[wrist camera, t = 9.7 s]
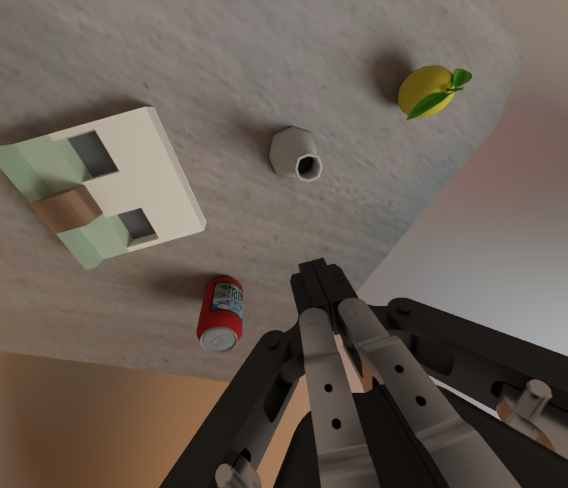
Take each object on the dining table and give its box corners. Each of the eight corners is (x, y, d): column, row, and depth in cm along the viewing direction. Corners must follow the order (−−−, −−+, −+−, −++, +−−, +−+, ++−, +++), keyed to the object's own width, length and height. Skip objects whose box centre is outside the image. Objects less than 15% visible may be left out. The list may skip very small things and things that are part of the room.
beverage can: (250, 288, 46) (251, 340, 36) (225, 307, 47) (219, 362, 37) (223, 267, 43) (217, 318, 32) (198, 289, 44) (183, 343, 34)
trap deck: (153, 106, 30) (138, 106, 26) (206, 222, 38) (201, 236, 34) (22, 144, 30) (-16, 150, 26) (104, 251, 38) (86, 270, 34)
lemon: (378, 118, 34) (423, 121, 26) (389, 67, 31) (444, 52, 23) (420, 120, 35) (478, 124, 27) (435, 72, 32) (503, 58, 24)
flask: (266, 128, 33) (273, 134, 24) (317, 124, 34) (342, 129, 25) (270, 180, 36) (278, 202, 28) (316, 176, 37) (338, 196, 29)
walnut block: (84, 184, 30) (63, 194, 27) (103, 212, 32) (86, 225, 29) (53, 193, 30) (29, 203, 27) (74, 221, 32) (54, 234, 29)
